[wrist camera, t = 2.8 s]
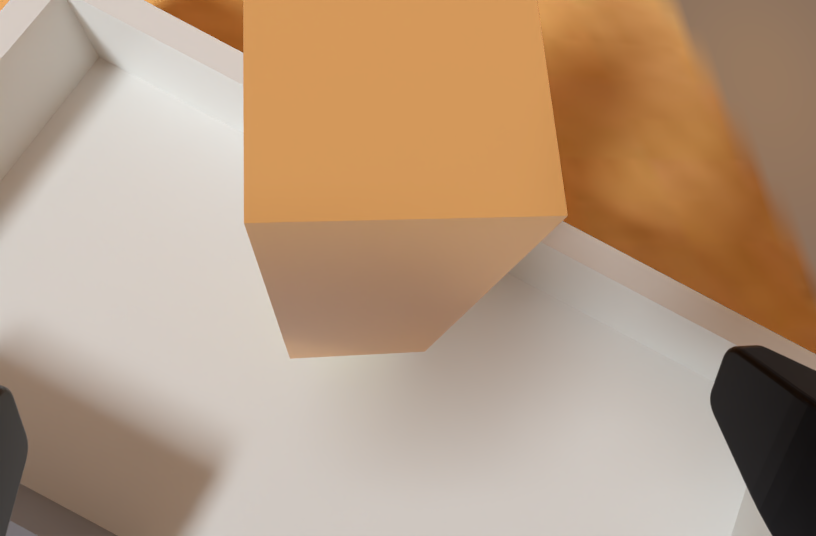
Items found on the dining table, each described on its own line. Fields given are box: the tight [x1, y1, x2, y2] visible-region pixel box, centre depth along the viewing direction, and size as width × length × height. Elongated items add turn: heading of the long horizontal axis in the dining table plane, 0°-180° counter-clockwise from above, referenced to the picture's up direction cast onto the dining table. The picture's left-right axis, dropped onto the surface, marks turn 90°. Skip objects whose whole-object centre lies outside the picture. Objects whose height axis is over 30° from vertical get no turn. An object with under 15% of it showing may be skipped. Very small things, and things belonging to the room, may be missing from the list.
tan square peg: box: [243, 0, 568, 359], centre depth 12 cm, size 3×3×12 cm
